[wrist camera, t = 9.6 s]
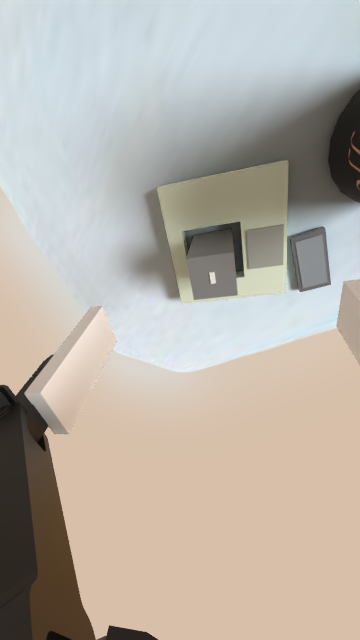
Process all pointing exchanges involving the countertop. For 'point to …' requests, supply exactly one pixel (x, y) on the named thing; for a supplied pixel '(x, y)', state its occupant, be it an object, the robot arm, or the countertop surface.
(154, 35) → the countertop surface
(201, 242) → the block
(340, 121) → the coffee jar
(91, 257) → the countertop surface
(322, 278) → the phone
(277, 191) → the outlet plate
